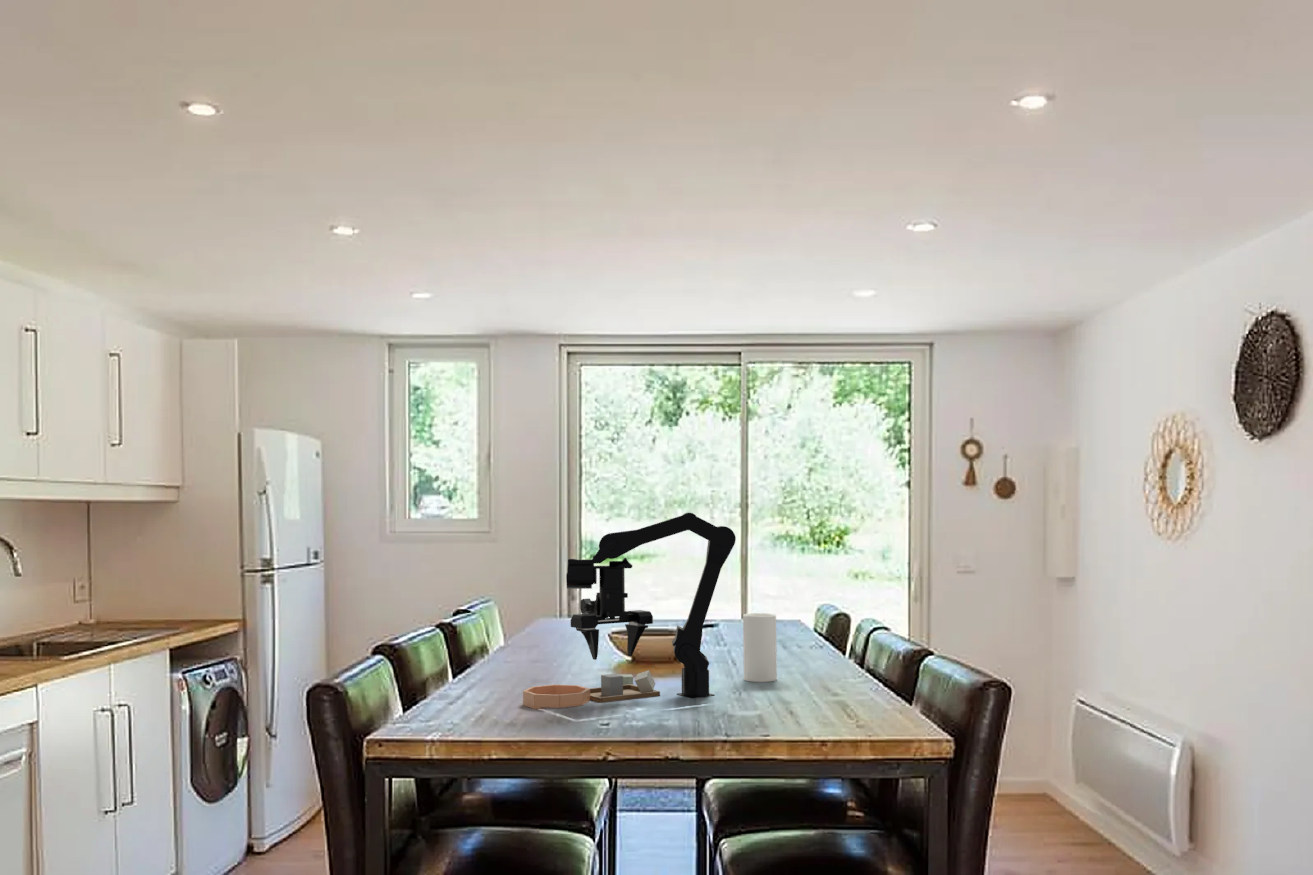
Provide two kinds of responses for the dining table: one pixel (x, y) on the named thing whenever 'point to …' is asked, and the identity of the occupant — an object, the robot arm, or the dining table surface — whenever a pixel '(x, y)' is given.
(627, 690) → the tray
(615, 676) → the grey block
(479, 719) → the dining table surface
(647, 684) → the grey small block
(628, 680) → the pale green block
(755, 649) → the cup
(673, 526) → the robot arm
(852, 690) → the dining table surface
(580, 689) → the dish
